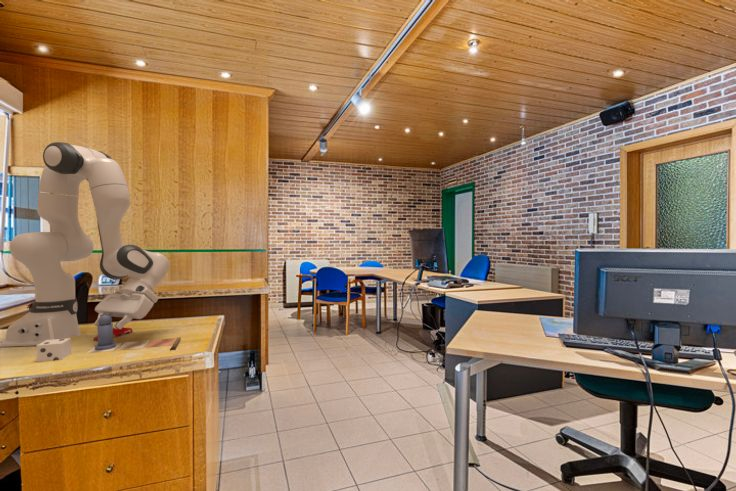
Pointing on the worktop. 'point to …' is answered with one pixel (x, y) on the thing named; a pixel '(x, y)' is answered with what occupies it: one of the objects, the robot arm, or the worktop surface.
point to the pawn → (105, 333)
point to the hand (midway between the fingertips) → (107, 326)
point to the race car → (118, 332)
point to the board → (142, 345)
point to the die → (53, 349)
